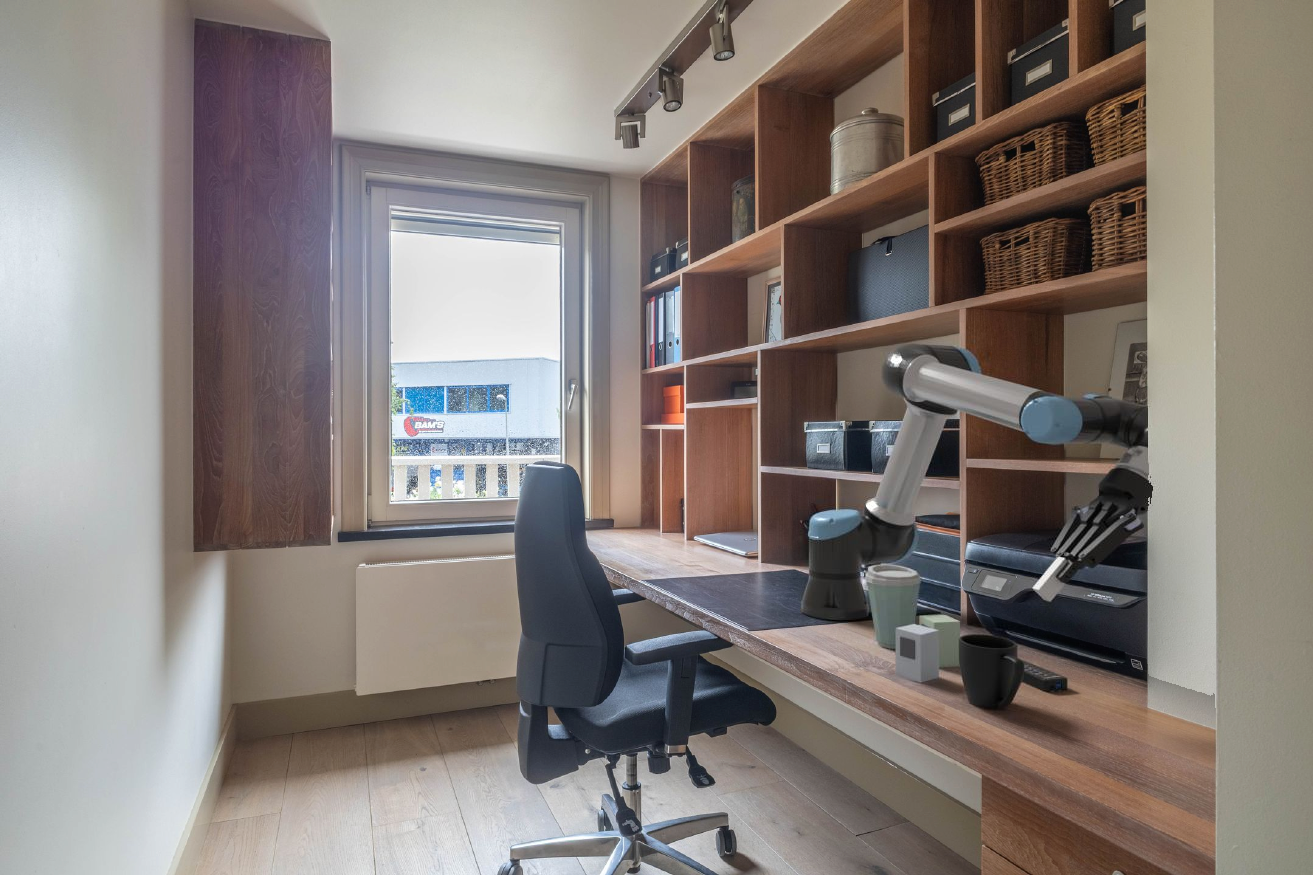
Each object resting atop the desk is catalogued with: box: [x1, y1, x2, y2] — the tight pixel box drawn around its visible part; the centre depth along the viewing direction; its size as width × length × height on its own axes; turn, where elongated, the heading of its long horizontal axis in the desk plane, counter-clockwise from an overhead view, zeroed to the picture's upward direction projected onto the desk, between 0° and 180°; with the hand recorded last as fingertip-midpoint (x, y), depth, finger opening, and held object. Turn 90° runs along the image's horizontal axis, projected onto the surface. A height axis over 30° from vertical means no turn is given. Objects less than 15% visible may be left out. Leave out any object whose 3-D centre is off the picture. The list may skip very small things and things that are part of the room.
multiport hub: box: [1021, 659, 1069, 694], centre depth 123 cm, size 4×11×2 cm, turn 15°
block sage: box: [918, 614, 961, 668], centre depth 132 cm, size 5×5×8 cm
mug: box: [959, 633, 1024, 711], centre depth 110 cm, size 8×12×10 cm
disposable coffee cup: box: [864, 563, 922, 650], centre depth 143 cm, size 11×11×15 cm
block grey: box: [895, 623, 940, 684], centre depth 125 cm, size 5×5×8 cm
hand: (1041, 594), depth 112 cm, fingers closed
